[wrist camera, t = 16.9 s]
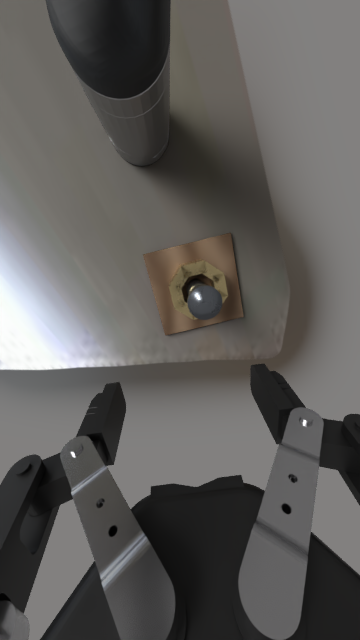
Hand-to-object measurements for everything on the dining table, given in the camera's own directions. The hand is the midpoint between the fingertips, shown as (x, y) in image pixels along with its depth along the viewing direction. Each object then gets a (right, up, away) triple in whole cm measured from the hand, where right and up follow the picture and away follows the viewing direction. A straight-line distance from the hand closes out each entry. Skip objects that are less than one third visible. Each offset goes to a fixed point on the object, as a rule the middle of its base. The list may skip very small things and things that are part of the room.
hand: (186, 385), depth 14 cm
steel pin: (+3, +10, +28) cm, 30 cm away
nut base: (+3, +10, +29) cm, 31 cm away
